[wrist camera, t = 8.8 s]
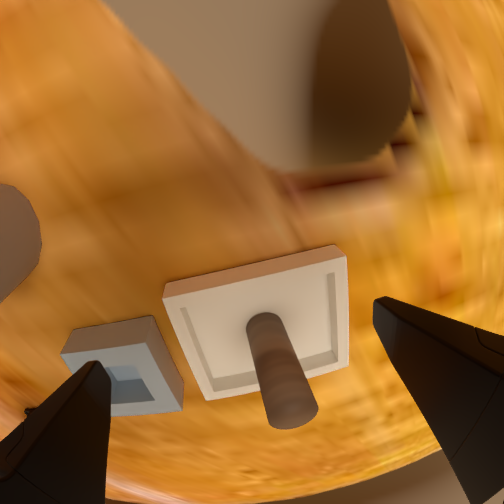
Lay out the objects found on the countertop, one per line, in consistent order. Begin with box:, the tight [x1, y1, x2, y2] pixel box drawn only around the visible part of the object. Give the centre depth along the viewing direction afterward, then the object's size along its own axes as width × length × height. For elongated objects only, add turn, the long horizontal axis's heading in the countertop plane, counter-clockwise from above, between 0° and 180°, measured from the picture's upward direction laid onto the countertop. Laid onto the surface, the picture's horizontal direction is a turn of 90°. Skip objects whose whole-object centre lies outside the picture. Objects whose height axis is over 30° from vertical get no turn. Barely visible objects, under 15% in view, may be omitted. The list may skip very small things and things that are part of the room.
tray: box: [162, 244, 349, 401], centre depth 23 cm, size 11×13×2 cm
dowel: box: [246, 312, 318, 429], centre depth 19 cm, size 3×3×9 cm
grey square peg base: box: [60, 315, 184, 417], centre depth 22 cm, size 8×8×4 cm
